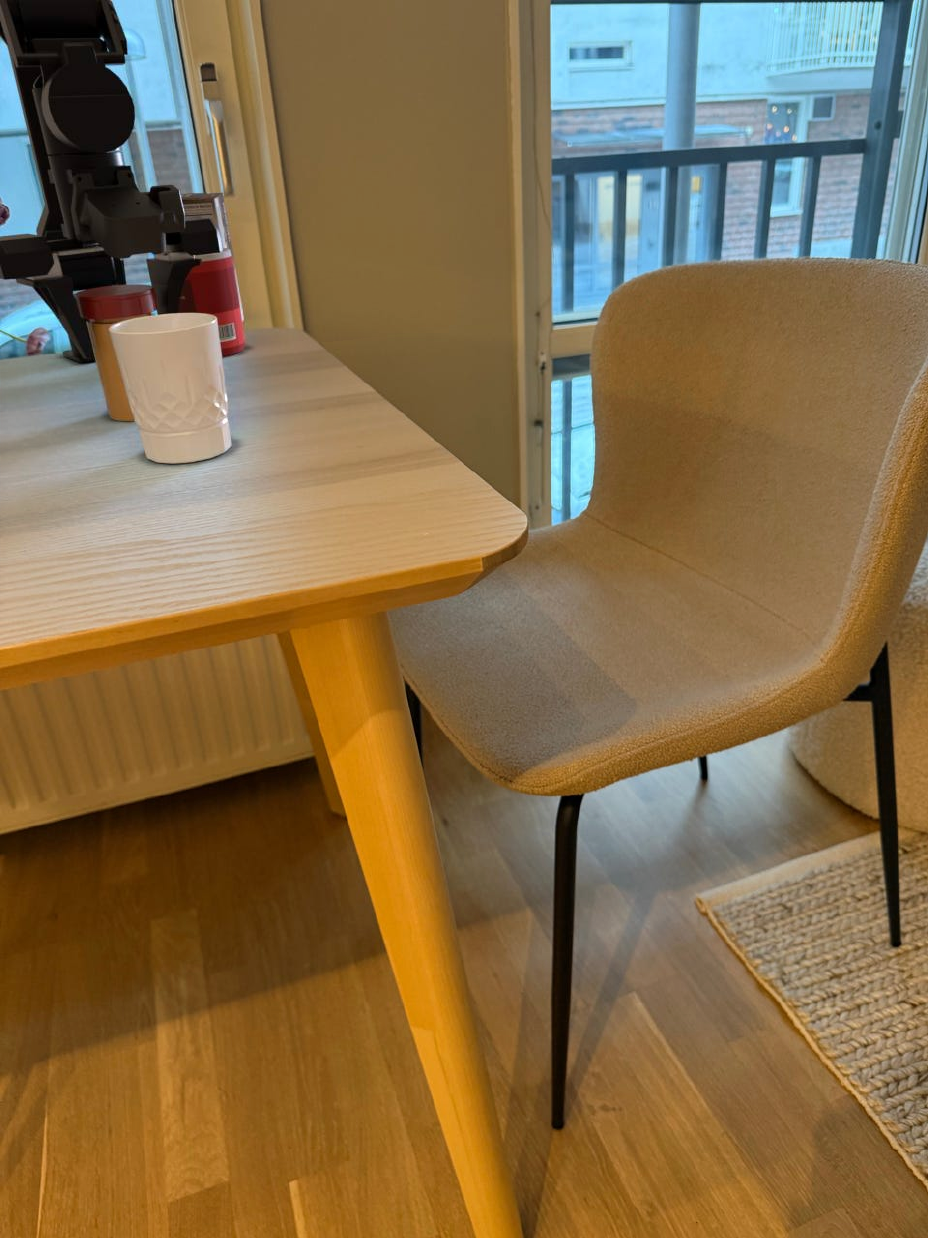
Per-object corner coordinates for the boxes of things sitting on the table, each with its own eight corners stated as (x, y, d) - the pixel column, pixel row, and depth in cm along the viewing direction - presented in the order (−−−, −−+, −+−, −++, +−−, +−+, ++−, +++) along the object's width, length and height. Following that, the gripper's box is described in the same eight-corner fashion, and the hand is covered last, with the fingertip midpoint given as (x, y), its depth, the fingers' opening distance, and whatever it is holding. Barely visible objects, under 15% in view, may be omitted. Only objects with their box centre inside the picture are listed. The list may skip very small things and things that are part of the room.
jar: (99, 413, 84) (71, 300, 79) (158, 400, 87) (135, 290, 82) (123, 425, 80) (95, 306, 75) (184, 411, 83) (161, 296, 78)
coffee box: (197, 324, 122) (173, 193, 114) (245, 320, 123) (224, 190, 115) (187, 337, 114) (160, 198, 107) (238, 333, 115) (215, 195, 107)
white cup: (257, 438, 74) (236, 313, 69) (203, 470, 68) (176, 334, 63) (176, 433, 77) (151, 311, 72) (117, 463, 70) (85, 331, 65)
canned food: (255, 343, 109) (239, 246, 104) (233, 358, 102) (216, 255, 97) (194, 345, 110) (176, 248, 104) (169, 360, 103) (148, 257, 97)
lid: (96, 322, 75) (90, 299, 74) (69, 313, 79) (64, 291, 79) (169, 310, 78) (165, 288, 78) (140, 303, 83) (136, 281, 82)
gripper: (-8, 159, 62) (52, 385, 69) (236, 145, 72) (266, 343, 80) (-48, 161, 70) (10, 364, 77) (177, 148, 80) (210, 328, 87)
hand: (129, 350), depth 80 cm, fingers open, 7 cm apart
